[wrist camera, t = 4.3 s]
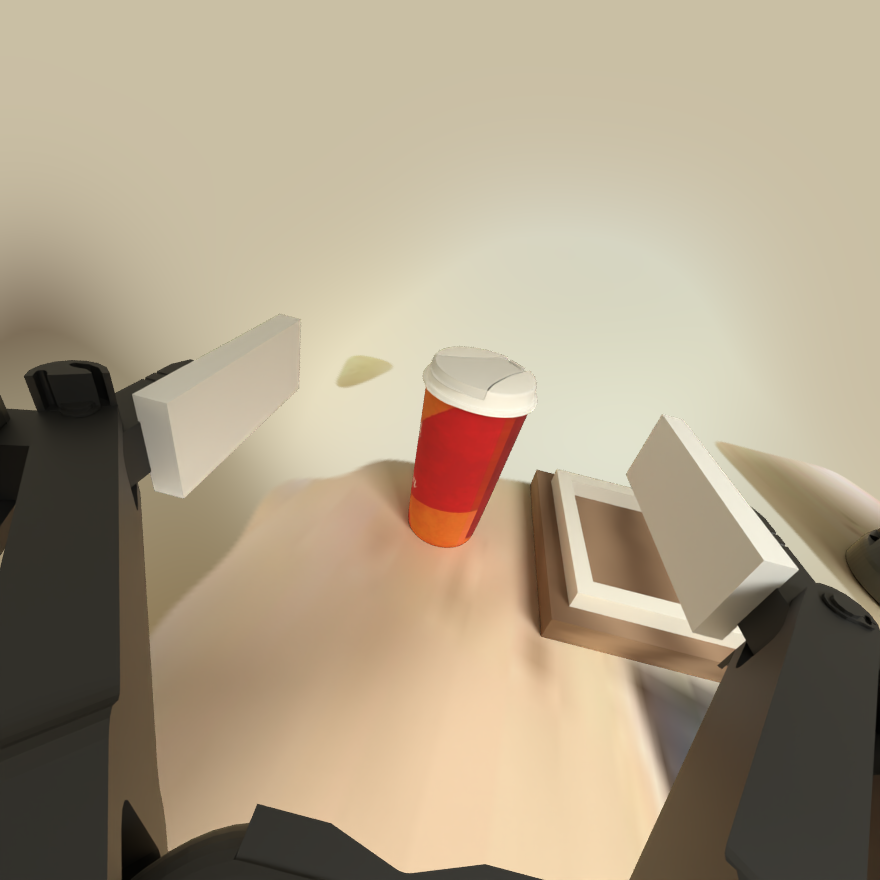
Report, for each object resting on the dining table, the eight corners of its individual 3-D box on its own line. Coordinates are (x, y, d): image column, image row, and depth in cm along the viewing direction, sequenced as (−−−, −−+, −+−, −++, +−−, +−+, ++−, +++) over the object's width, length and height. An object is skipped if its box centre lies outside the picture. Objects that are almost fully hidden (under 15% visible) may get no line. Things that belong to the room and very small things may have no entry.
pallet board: (687, 525, 40) (707, 499, 38) (778, 697, 26) (816, 671, 24) (530, 485, 40) (542, 457, 38) (541, 636, 27) (560, 605, 25)
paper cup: (449, 481, 38) (488, 340, 30) (504, 537, 33) (568, 388, 26) (376, 505, 33) (401, 347, 26) (429, 575, 29) (479, 407, 21)
